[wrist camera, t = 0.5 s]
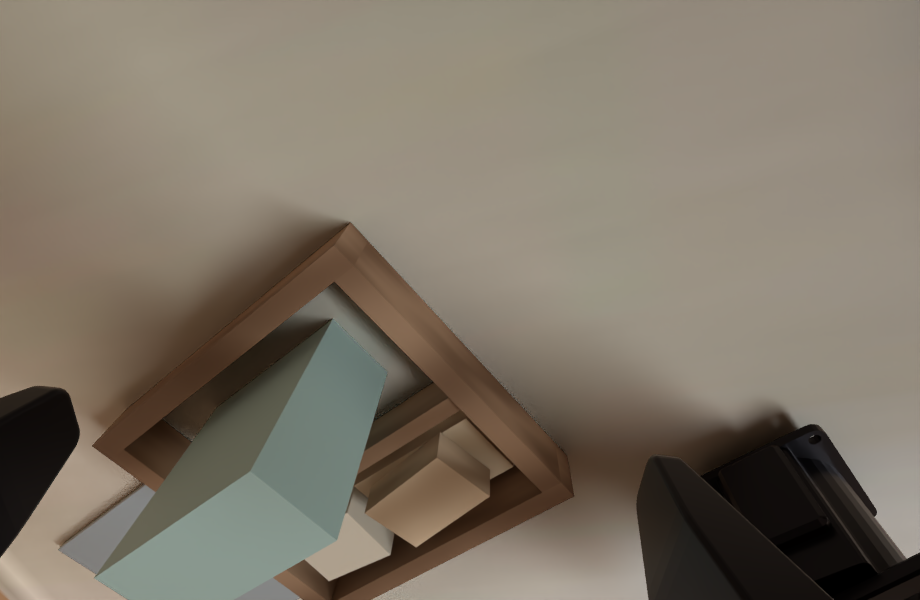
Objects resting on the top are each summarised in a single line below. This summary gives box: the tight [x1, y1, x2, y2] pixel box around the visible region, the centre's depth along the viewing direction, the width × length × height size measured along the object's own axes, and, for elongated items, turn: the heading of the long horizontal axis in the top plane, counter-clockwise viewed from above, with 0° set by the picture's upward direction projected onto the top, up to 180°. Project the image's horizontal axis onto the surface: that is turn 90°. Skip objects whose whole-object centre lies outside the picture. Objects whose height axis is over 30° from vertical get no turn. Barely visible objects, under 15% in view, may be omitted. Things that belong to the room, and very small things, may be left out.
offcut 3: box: [365, 432, 490, 547], centre depth 25 cm, size 3×5×2 cm, turn 136°
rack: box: [92, 222, 574, 600], centre depth 25 cm, size 15×15×2 cm
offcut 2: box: [354, 410, 513, 498], centre depth 27 cm, size 4×7×2 cm, turn 129°
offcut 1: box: [305, 479, 394, 581], centre depth 28 cm, size 3×4×2 cm
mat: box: [58, 484, 300, 600], centre depth 31 cm, size 11×11×1 cm
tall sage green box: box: [94, 319, 388, 600], centre depth 21 cm, size 4×8×9 cm, turn 129°
